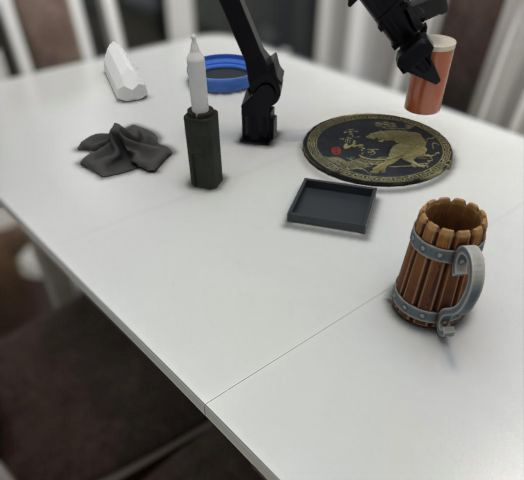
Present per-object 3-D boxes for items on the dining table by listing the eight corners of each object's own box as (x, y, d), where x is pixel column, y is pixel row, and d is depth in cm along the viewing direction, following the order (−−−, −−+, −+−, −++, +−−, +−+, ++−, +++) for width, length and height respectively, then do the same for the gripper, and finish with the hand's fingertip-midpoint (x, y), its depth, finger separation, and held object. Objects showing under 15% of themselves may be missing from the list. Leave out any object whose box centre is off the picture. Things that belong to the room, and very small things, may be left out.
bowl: (258, 94, 128) (258, 79, 125) (184, 94, 128) (182, 79, 126) (259, 67, 140) (259, 52, 138) (191, 67, 141) (190, 53, 138)
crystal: (92, 55, 137) (107, 88, 121) (113, 36, 136) (131, 68, 120) (112, 79, 142) (129, 114, 127) (132, 61, 141) (152, 95, 126)
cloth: (179, 168, 104) (175, 138, 99) (82, 184, 100) (74, 153, 96) (159, 121, 118) (155, 93, 114) (74, 133, 115) (67, 104, 110)
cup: (426, 118, 101) (441, 50, 92) (396, 107, 105) (408, 40, 96) (447, 108, 104) (464, 40, 96) (417, 97, 108) (431, 31, 99)
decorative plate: (291, 174, 98) (313, 107, 118) (291, 183, 99) (312, 115, 119) (457, 190, 94) (450, 118, 114) (454, 200, 95) (448, 127, 115)
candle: (224, 177, 101) (214, 30, 83) (214, 190, 98) (201, 41, 80) (200, 172, 103) (185, 27, 84) (189, 185, 99) (171, 37, 81)
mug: (382, 283, 79) (400, 193, 68) (451, 278, 80) (480, 189, 69) (411, 360, 69) (438, 269, 58) (490, 354, 69) (531, 263, 58)
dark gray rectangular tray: (286, 226, 90) (287, 213, 88) (304, 189, 98) (304, 177, 96) (363, 238, 87) (365, 225, 85) (375, 200, 95) (377, 187, 93)
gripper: (433, -18, 82) (484, 61, 89) (422, -45, 94) (467, 26, 102) (374, 37, 88) (426, 107, 95) (371, 5, 101) (417, 69, 108)
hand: (436, 75), depth 100 cm, fingers closed on cup, 7 cm apart
